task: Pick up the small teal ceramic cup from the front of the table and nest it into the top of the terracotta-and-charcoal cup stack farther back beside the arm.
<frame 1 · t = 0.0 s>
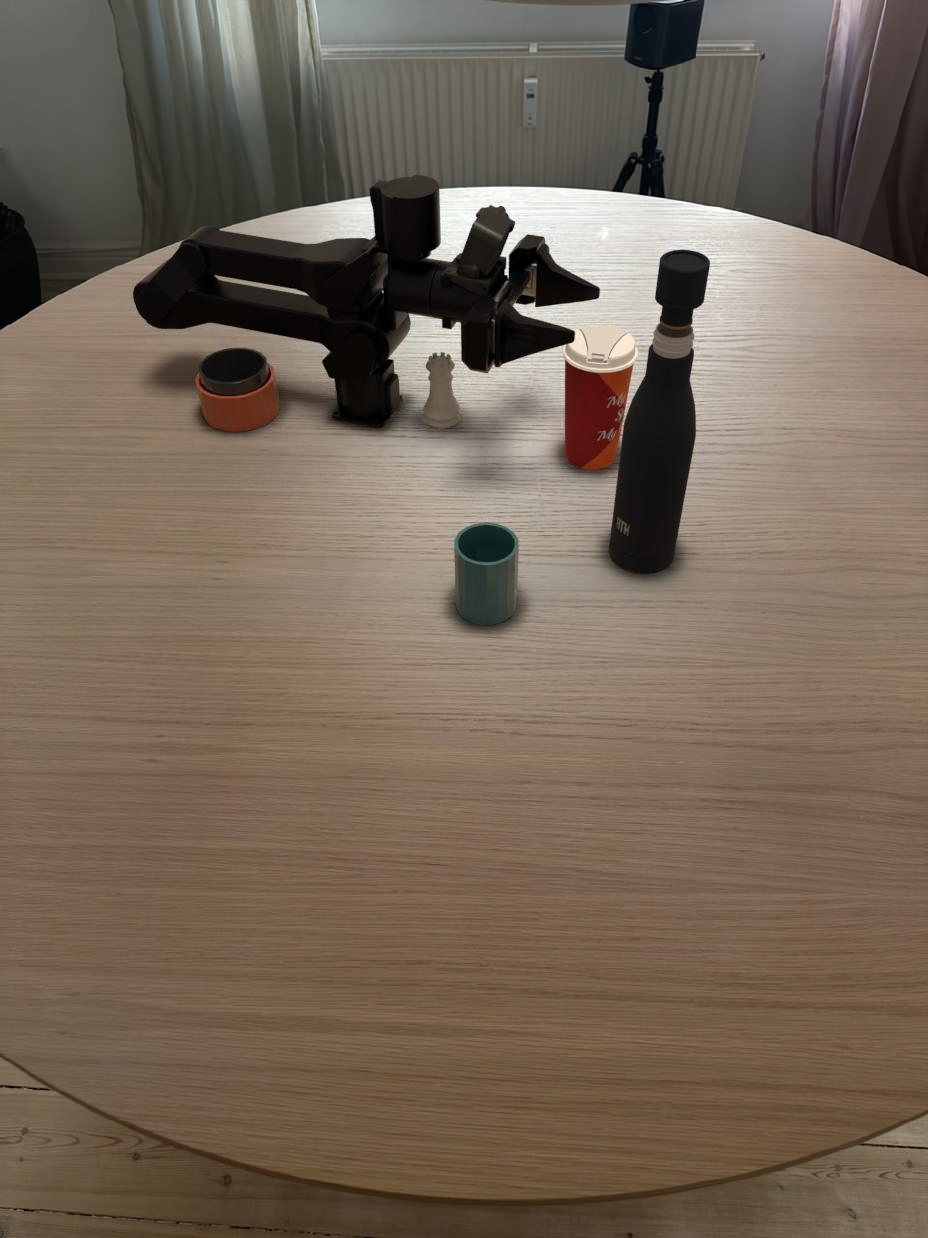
hand: (587, 314, 97), 17 cm above the table, tool horizontal, fingers open, 9 cm apart
rook chess piece: (442, 420, 114), on the table
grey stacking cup: (237, 387, 114), in the stack base cup
stack base cup: (242, 410, 116), on the table
teal cup: (486, 603, 92), on the table
paper cup: (590, 456, 109), on the table
black insulated water bottle: (640, 553, 97), on the table
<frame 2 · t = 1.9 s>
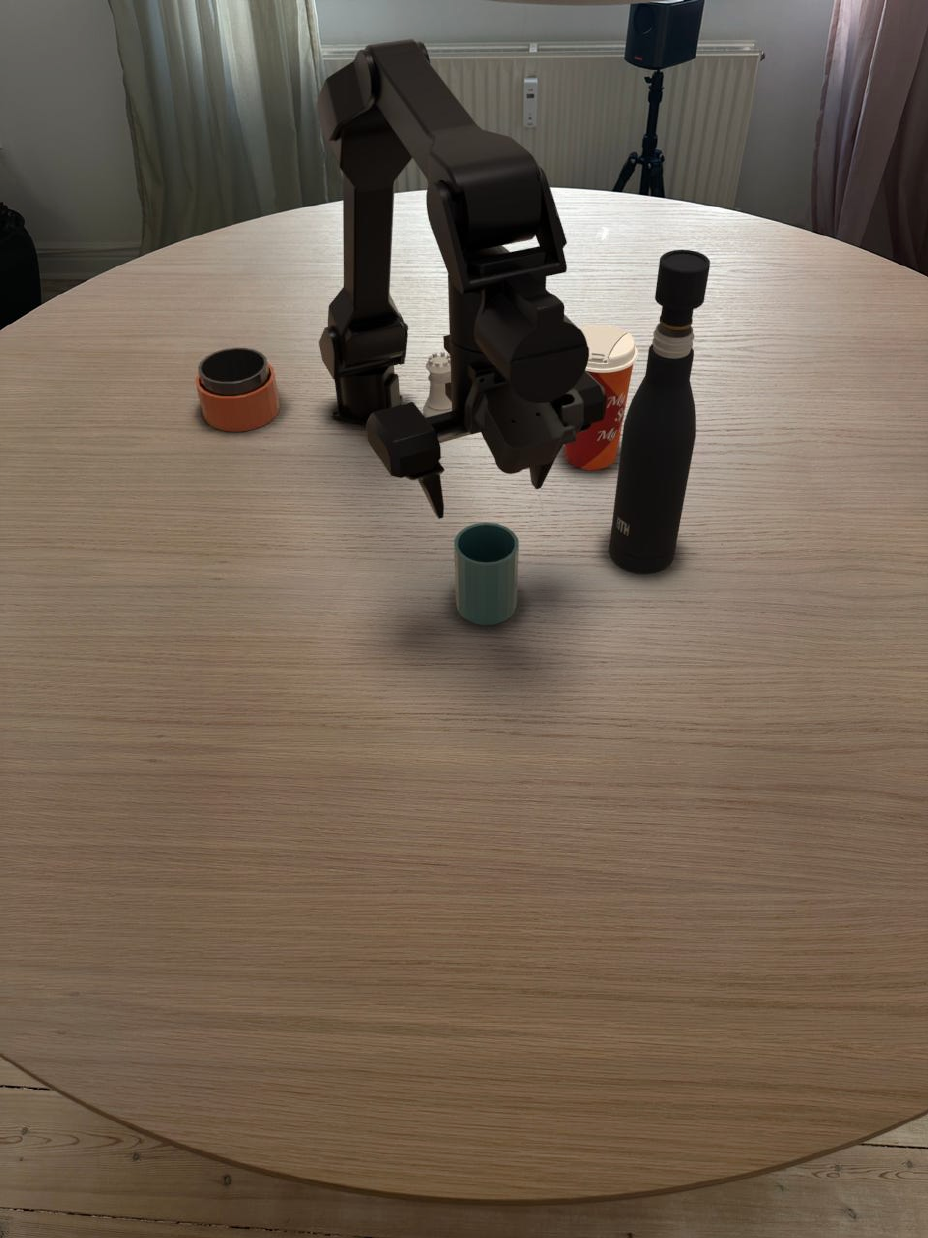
hand: (488, 500, 84), 12 cm above the table, tool pointing down, fingers open, 9 cm apart
nothing on the table moved.
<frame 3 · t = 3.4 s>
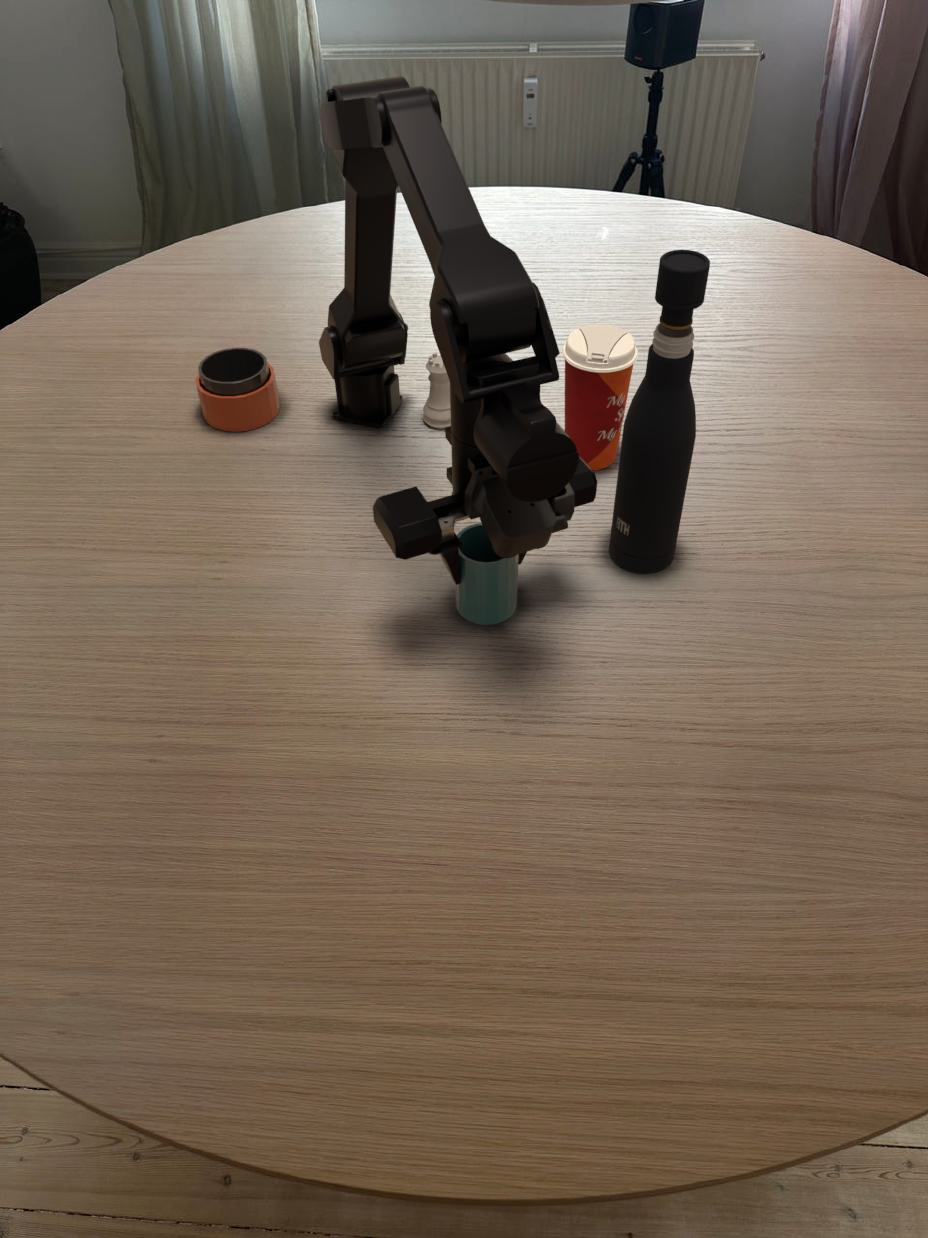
hand: (486, 571, 89), 4 cm above the table, tool pointing down, fingers closed on teal cup, 6 cm apart
teal cup: (486, 603, 92), on the table, touching gripper
everything else where it was.
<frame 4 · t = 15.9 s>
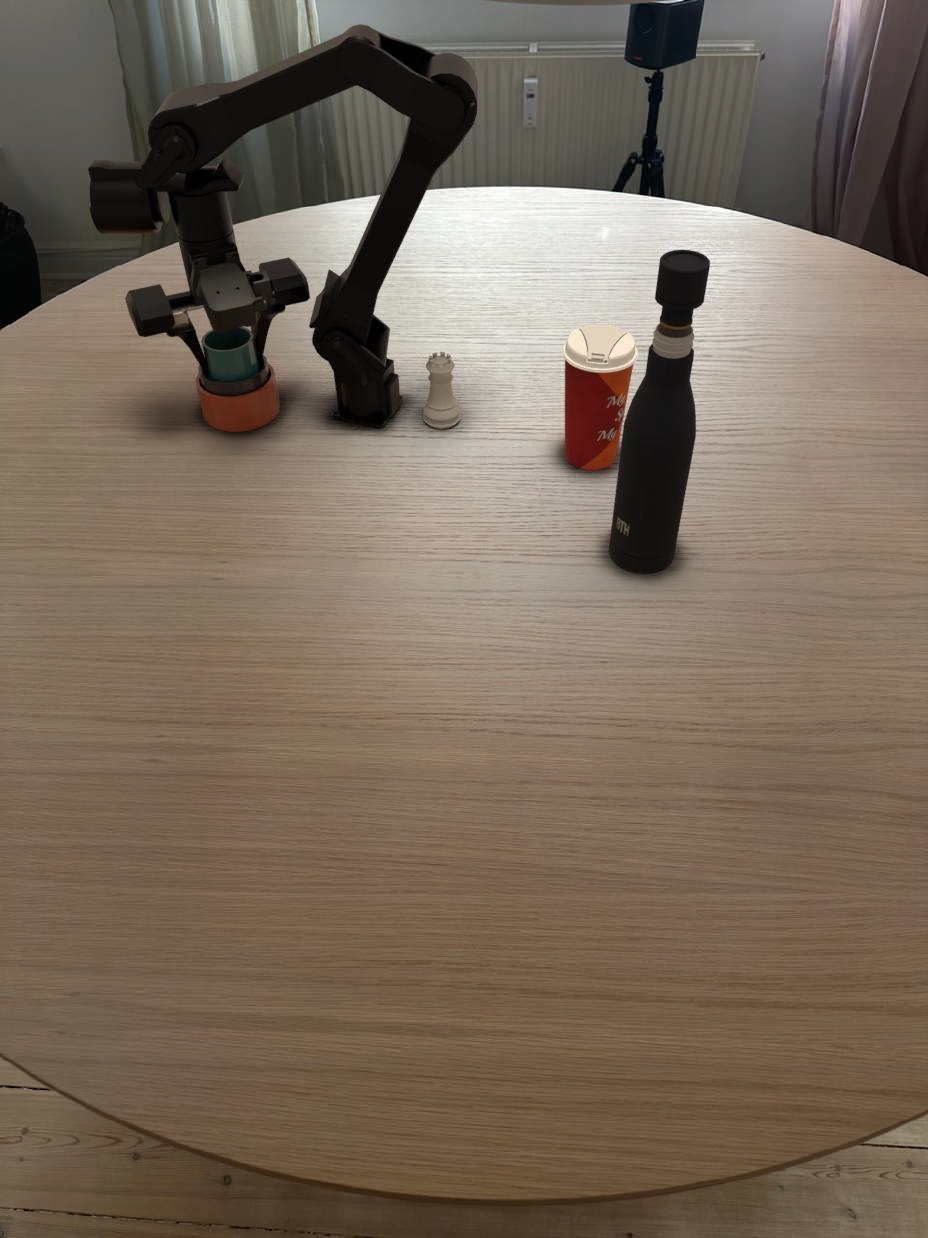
hand: (232, 366, 112), 6 cm above the table, tool pointing down, fingers closed on teal cup, 6 cm apart
teal cup: (239, 396, 114), point 2 cm above the table, touching gripper
everything else where it was.
when the fingers open (7 cm above the table, at t = 18.4 s): teal cup drops 1 cm, resting on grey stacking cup.
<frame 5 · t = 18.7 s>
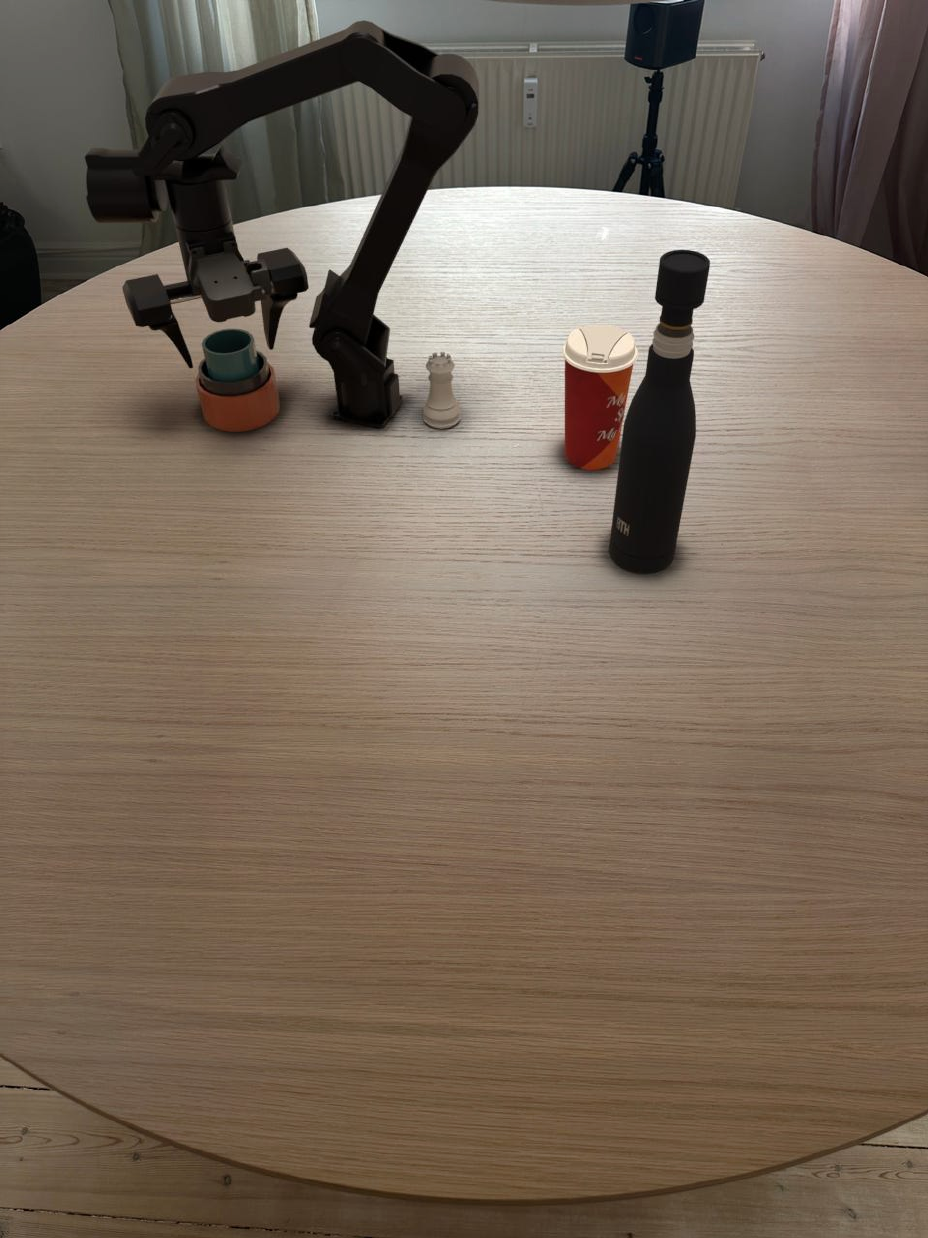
hand: (231, 357, 111), 7 cm above the table, tool pointing down, fingers open, 9 cm apart
teal cup: (239, 399, 115), point 1 cm above the table, touching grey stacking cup
everything else where it was.
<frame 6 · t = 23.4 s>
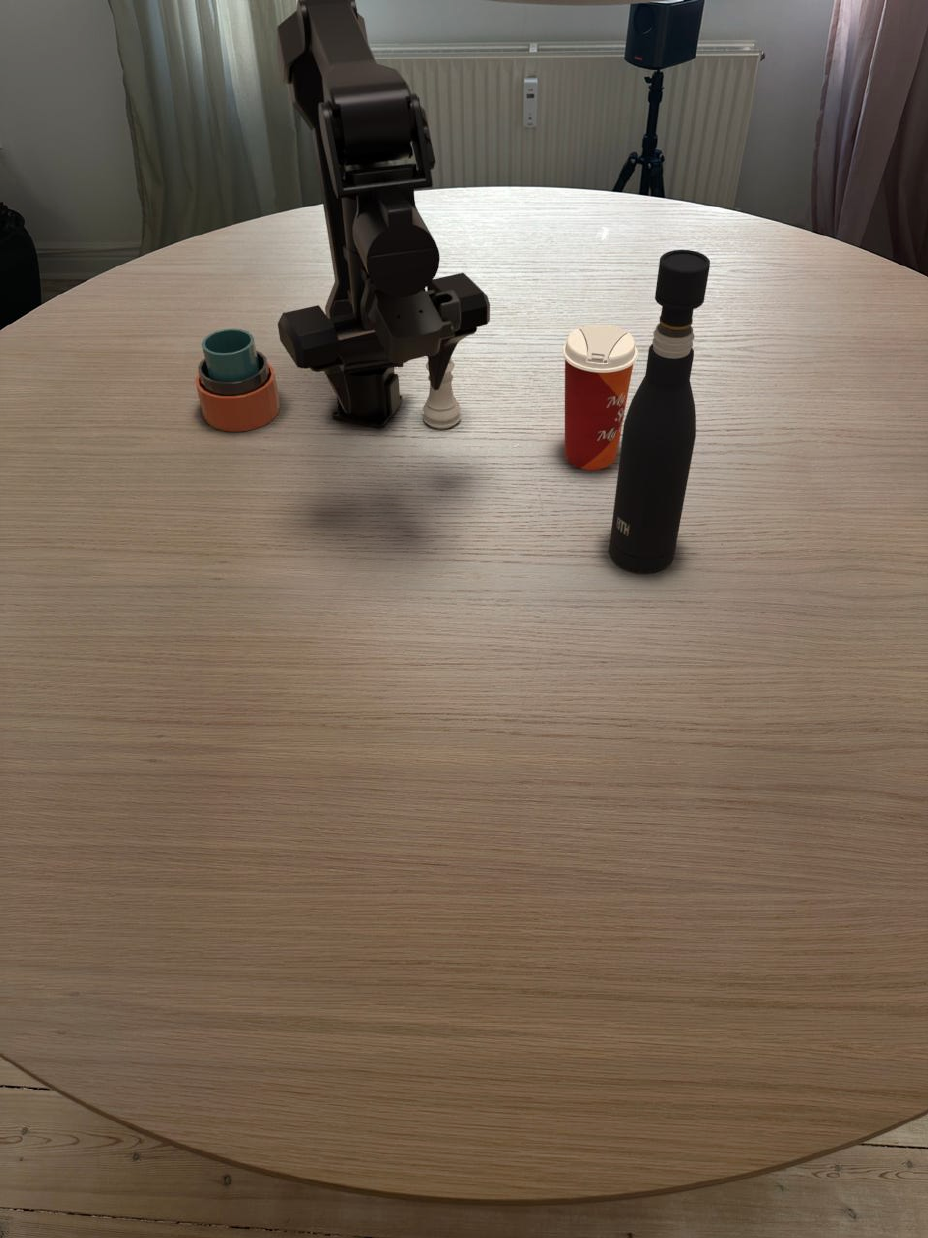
hand: (391, 399, 95), 12 cm above the table, tool pointing down, fingers open, 9 cm apart
nothing on the table moved.
at the end: teal cup 0.1 cm off-centre in the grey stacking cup, point 1.5 cm above the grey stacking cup's base; teal cup tilted 0°; the gripper is holding nothing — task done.
